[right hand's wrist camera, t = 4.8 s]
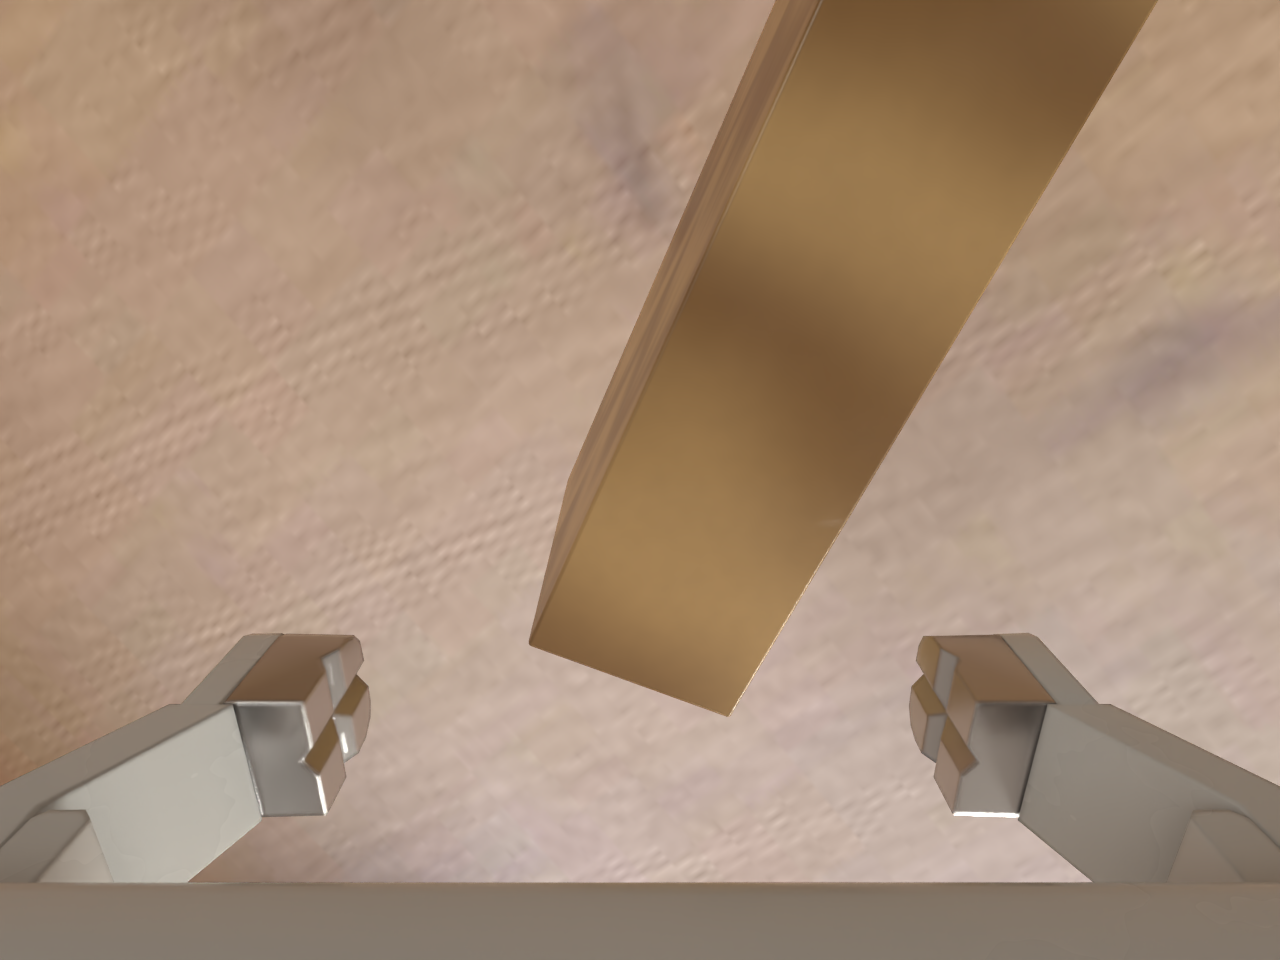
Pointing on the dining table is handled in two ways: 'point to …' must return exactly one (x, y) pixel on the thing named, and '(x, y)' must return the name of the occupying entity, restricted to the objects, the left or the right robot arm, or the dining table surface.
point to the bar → (807, 316)
